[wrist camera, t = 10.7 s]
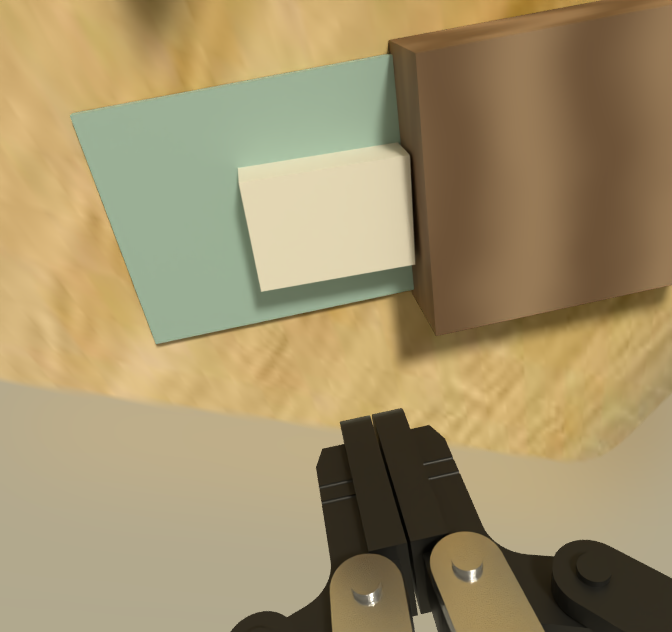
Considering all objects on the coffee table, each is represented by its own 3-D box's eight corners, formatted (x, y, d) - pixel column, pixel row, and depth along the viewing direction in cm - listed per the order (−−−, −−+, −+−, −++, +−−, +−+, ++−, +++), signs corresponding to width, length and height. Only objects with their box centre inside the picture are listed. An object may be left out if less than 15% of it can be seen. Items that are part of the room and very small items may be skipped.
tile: (397, 142, 26) (409, 154, 24) (403, 246, 29) (415, 264, 27) (237, 168, 25) (238, 182, 24) (258, 271, 28) (261, 291, 26)
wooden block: (736, -25, 25) (817, -23, 22) (689, 235, 31) (746, 268, 28) (388, 40, 24) (415, 53, 21) (412, 294, 30) (436, 336, 27)
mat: (389, 53, 24) (392, 54, 24) (412, 285, 30) (414, 289, 30) (72, 113, 24) (70, 115, 23) (156, 339, 29) (156, 344, 29)
